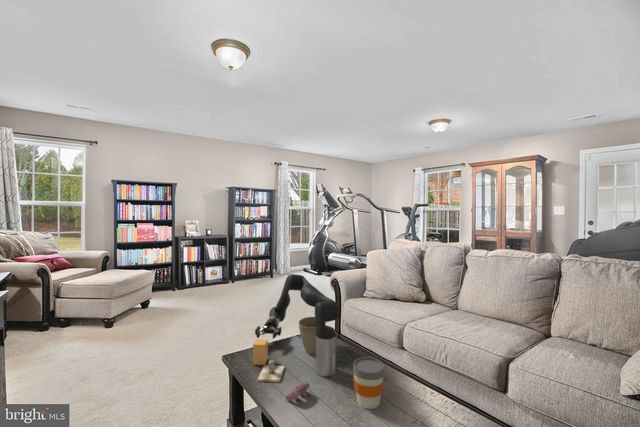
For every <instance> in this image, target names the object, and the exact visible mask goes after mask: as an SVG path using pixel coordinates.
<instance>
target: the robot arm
mask: <svg viewBox="0 0 640 427" xmlns="http://www.w3.org/2000/svg"><path fill="white" fill-rule="evenodd" d="M281 291H282V292H281V294H280V297H279V298H278V301H277V303H276V306H273V307H272V308H270V311H269V313H268V319H267V320H266V322H265V323H264V325H263V326H262V327H261V326H259V325H258V326H257V327H256V329H254V335H256V338H257V339H260V337H261V335H266V334H270V335H272V339H275V338H276V337H277V336H281V334H282V326H279V325H280V323H281V322H283V321H284V320H285V319H286V314H287V309H288V307H289V306H290V303H291V297H290V293H289V292H290V291H299V292H300V298H301V300H302V301H304V303H305V304H307V305H308V306H310V307H313V308H314V317H315V329H316V354H315V373H316V375H318V376H320V377H331V376H335V375H336V329H335V328H334V327H332V326H329V325H325V322H326V323H327V322H328V323H329V322H333V321H336V320H338V319H339V317H340V316H341V310H340V306H339V305H338V303H337V301H335V300H333V299H331V298H329V297H328V296H326V295H325V294H324V293H323V292H321V291H320V290H319V289H317V288H316V287H315V286H314V285H312V284H311V283H310V282H309V281H308V280H307V279H306V277H305V276H304V275H303V274H302V275H301V274H293V273H292V274H288V275H287V277H286V279H285V281H284V285H283V288H282V290H281Z"/></svg>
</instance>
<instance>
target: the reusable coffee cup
mask: <svg viewBox="0 0 640 427" xmlns="http://www.w3.org/2000/svg"><path fill="white" fill-rule="evenodd" d="M352 365H353V367H352V372H353V386H354V390H355V393H356V401H357V404H358V405H359V406H360V407H361V408H364V409H366V410H367V409H368V410H373V409H374V410H375V409H377V408H378V407H379V406H380V404H381V398H382V397H381V395H382V393H383V390H384V383H385V379H384V376H385V373H386V372H385V365H384V363H383V362H382V361H381V360H380V359H378V358H375V357H370V356H368V357H367V356H364V357H358V358H356V359H355V360H354V361H353V364H352Z"/></svg>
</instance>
